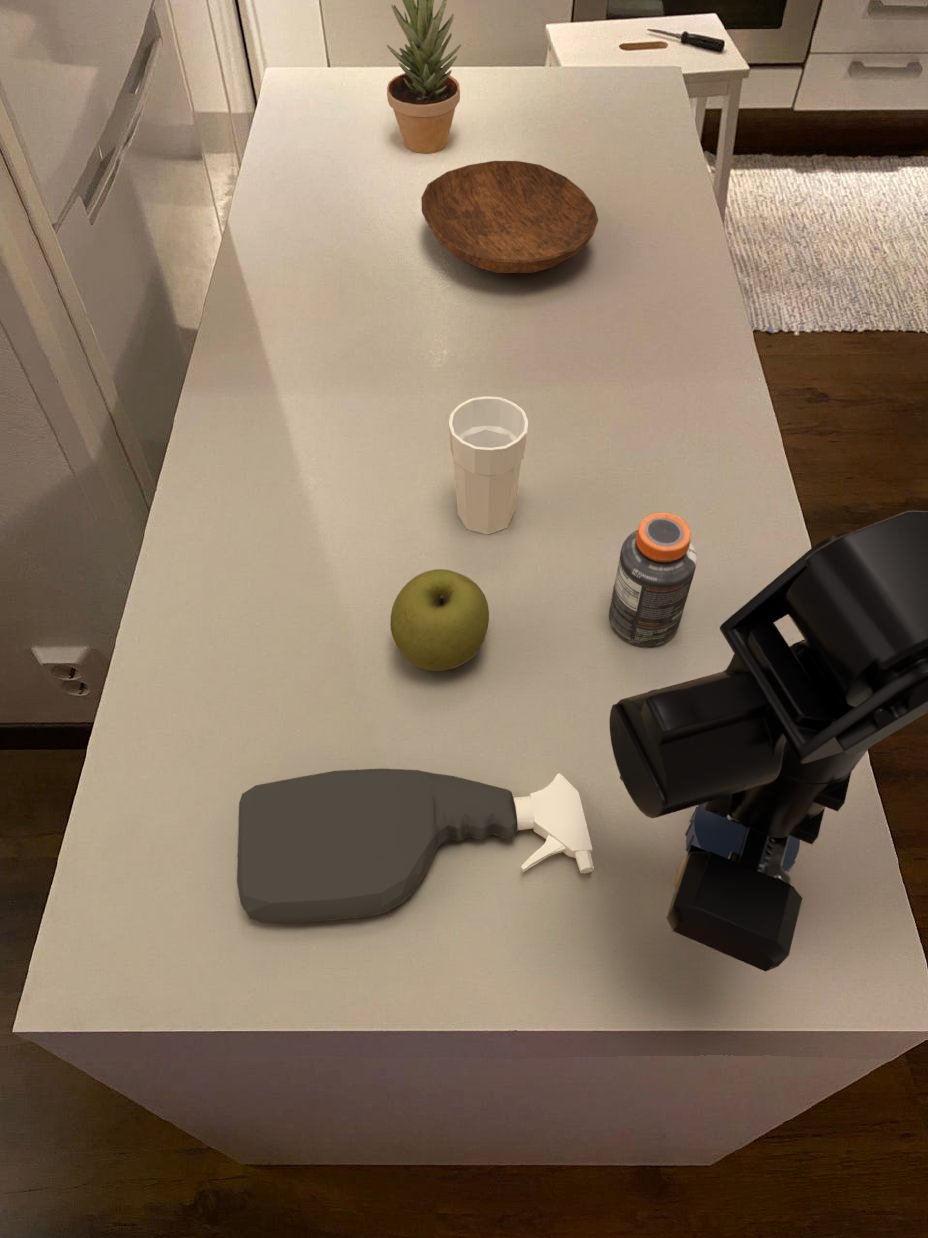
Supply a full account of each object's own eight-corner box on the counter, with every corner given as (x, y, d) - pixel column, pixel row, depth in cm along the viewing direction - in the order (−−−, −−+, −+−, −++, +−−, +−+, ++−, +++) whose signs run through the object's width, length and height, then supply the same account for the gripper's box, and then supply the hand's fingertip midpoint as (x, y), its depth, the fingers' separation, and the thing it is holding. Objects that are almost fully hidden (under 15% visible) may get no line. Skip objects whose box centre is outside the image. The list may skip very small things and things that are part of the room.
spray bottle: (244, 792, 71) (568, 759, 73) (241, 937, 64) (597, 897, 66) (237, 773, 68) (572, 740, 70) (233, 922, 62) (602, 881, 64)
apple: (507, 650, 78) (510, 597, 73) (433, 705, 75) (431, 654, 69) (447, 596, 82) (445, 541, 76) (374, 647, 79) (367, 593, 73)
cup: (488, 551, 85) (491, 461, 76) (435, 514, 87) (432, 423, 79) (536, 512, 88) (544, 421, 79) (483, 477, 90) (485, 385, 82)
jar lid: (700, 787, 63) (709, 767, 61) (798, 825, 61) (811, 806, 59) (672, 873, 59) (680, 855, 57) (775, 915, 58) (787, 898, 55)
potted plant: (381, 155, 127) (366, -61, 107) (400, 122, 132) (389, -90, 113) (454, 164, 125) (452, -54, 106) (470, 130, 131) (471, -83, 111)
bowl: (470, 317, 105) (470, 278, 101) (397, 219, 117) (394, 180, 113) (624, 275, 110) (630, 236, 106) (538, 184, 122) (541, 146, 118)
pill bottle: (684, 603, 81) (712, 512, 72) (670, 656, 78) (697, 568, 69) (617, 585, 82) (635, 493, 73) (600, 637, 79) (617, 548, 70)
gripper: (702, 559, 56) (652, 700, 68) (597, 825, 46) (561, 934, 58) (893, 624, 53) (805, 758, 66) (829, 921, 43) (739, 1014, 55)
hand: (728, 856), depth 61 cm, fingers closed on jar lid, 6 cm apart
